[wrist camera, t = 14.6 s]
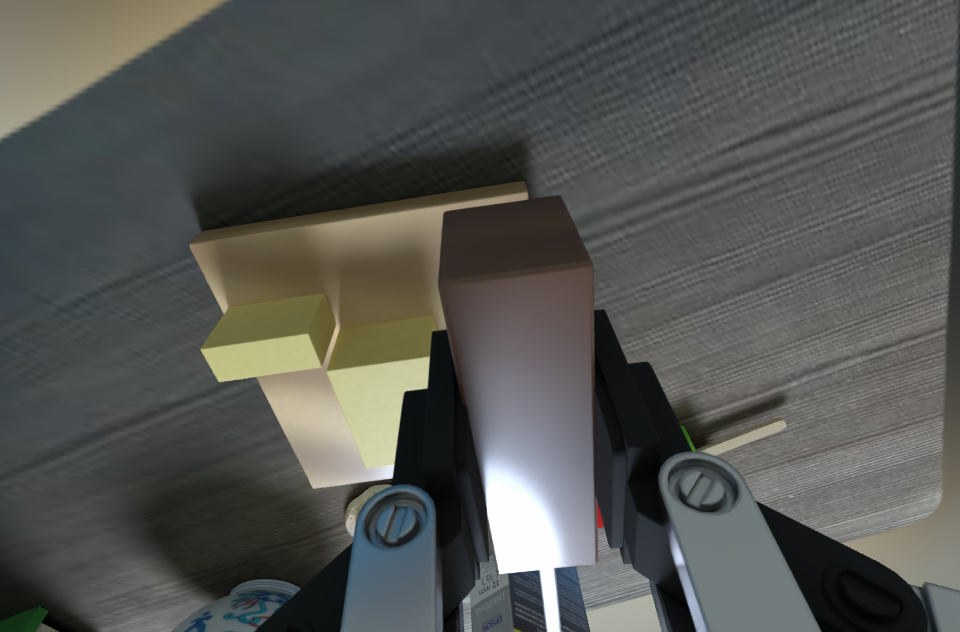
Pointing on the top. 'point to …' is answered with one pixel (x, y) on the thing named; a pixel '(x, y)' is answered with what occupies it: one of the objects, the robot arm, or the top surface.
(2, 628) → the hardback book
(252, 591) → the chinaware
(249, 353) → the butter slice
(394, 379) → the butter block
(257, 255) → the cutting board
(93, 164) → the top surface
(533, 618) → the label tape box
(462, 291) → the knife
